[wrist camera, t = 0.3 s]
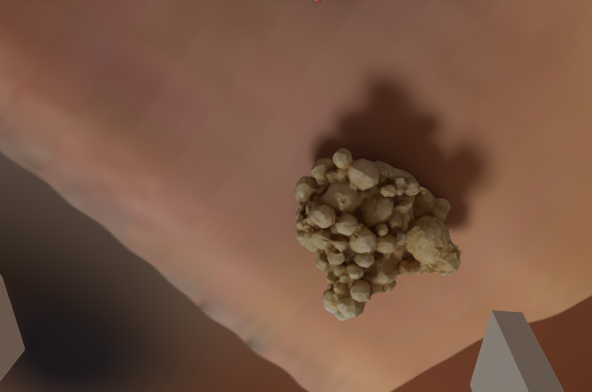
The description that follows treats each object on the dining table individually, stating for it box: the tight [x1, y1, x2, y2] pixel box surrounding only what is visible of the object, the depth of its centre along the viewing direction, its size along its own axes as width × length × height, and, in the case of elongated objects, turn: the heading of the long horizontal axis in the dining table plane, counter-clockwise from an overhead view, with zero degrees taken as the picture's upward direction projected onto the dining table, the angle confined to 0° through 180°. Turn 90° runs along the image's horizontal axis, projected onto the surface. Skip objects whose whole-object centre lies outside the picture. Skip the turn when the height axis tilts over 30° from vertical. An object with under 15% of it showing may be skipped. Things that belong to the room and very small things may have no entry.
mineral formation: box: [294, 148, 461, 321], centre depth 38 cm, size 8×13×15 cm
